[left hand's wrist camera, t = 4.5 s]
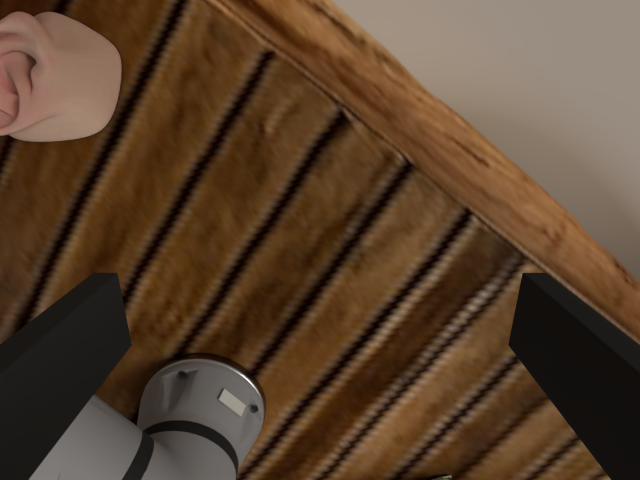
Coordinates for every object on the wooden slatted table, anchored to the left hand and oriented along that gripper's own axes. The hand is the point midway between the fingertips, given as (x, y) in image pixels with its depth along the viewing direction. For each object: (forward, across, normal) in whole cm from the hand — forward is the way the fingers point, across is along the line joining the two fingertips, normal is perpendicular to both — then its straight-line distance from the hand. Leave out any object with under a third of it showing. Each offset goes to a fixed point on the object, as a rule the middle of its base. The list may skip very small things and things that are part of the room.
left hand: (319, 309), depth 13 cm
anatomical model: (+28, +25, -8) cm, 39 cm away
